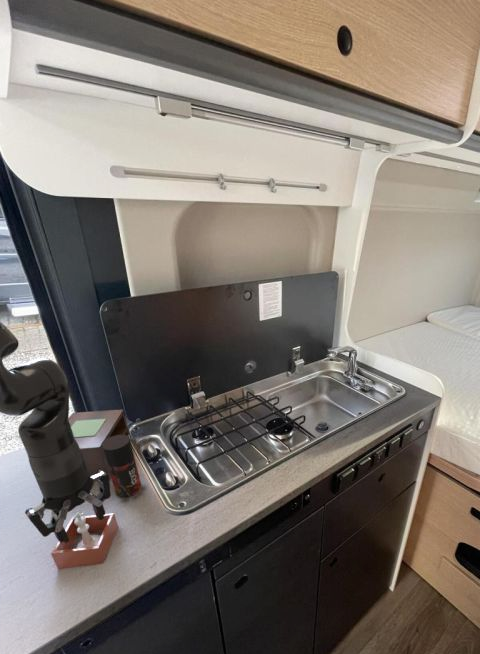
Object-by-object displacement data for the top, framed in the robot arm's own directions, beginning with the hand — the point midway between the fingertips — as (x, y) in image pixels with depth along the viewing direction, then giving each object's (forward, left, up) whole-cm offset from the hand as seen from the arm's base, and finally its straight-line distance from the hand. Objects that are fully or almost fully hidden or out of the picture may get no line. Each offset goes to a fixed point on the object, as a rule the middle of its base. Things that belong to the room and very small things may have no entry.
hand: (83, 528), depth 67 cm
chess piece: (0, 0, -6) cm, 6 cm away
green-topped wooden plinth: (-10, +29, -6) cm, 31 cm away
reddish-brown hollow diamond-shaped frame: (0, 0, -6) cm, 6 cm away
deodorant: (+3, +16, -6) cm, 17 cm away
